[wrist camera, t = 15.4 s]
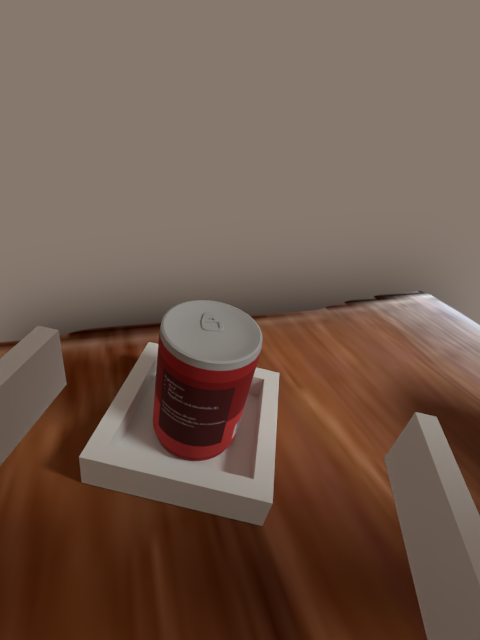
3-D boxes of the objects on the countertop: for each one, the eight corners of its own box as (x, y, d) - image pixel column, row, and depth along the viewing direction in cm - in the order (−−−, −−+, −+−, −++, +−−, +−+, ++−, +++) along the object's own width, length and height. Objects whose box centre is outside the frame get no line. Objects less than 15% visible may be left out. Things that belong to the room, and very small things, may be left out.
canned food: (215, 386, 36) (235, 295, 30) (251, 449, 30) (284, 353, 25) (141, 402, 32) (147, 303, 26) (167, 477, 27) (181, 372, 21)
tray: (271, 394, 38) (279, 373, 36) (262, 526, 26) (272, 503, 24) (147, 364, 38) (148, 341, 36) (81, 482, 26) (79, 456, 24)
